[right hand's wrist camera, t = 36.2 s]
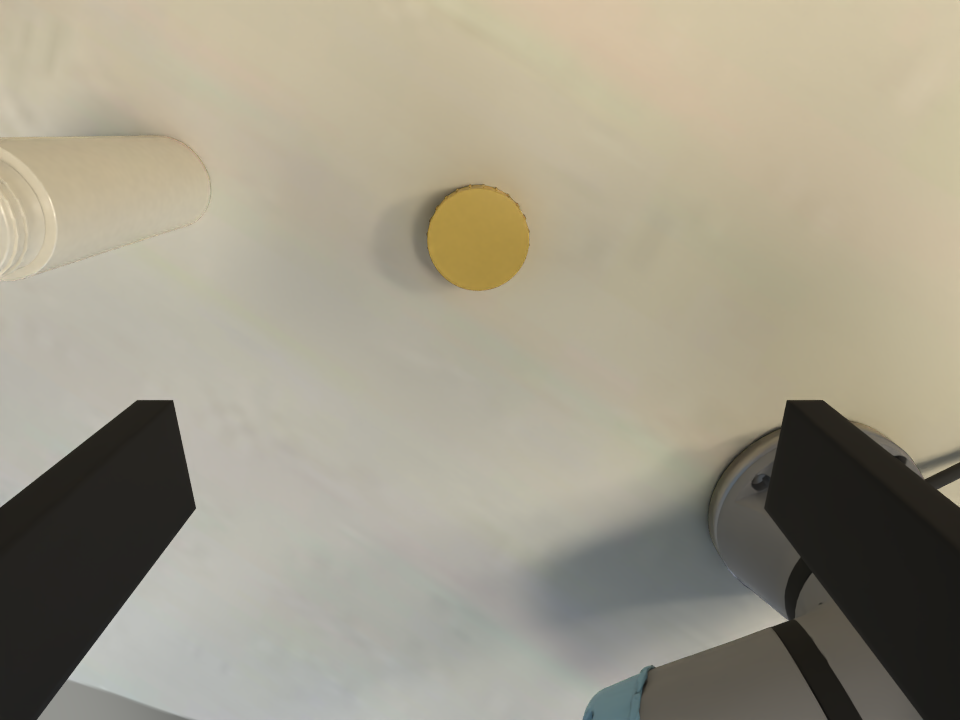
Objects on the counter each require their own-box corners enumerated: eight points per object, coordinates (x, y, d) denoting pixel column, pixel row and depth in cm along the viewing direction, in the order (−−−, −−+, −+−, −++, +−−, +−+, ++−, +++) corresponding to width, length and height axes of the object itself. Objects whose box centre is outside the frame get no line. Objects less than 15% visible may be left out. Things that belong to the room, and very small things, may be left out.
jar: (222, 221, 37) (45, 282, 22) (139, 233, 38) (-92, 303, 22) (194, 128, 35) (-22, 126, 20) (106, 142, 36) (-172, 151, 20)
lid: (440, 173, 36) (438, 175, 34) (538, 197, 37) (542, 201, 35) (420, 270, 39) (417, 278, 37) (513, 292, 39) (515, 301, 37)
